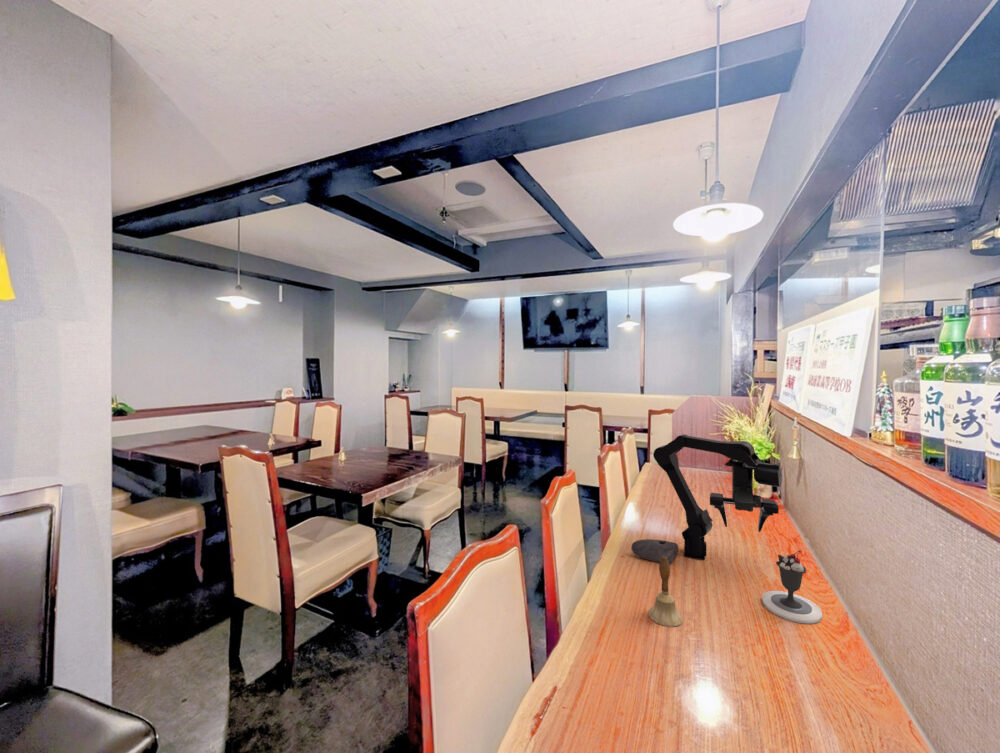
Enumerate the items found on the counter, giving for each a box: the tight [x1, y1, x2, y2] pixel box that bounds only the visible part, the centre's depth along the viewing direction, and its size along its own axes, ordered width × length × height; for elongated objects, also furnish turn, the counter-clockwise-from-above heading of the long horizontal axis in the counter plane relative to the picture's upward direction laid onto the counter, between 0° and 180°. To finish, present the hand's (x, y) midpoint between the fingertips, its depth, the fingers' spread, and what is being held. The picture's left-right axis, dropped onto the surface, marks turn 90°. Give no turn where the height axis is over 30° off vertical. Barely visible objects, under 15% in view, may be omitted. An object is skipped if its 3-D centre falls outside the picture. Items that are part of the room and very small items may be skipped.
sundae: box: [775, 550, 807, 609], centre depth 108 cm, size 7×7×15 cm
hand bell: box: [648, 556, 684, 627], centre depth 105 cm, size 8×8×16 cm
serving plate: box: [761, 590, 823, 625], centre depth 108 cm, size 13×13×1 cm
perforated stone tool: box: [631, 538, 679, 564], centre depth 136 cm, size 15×5×7 cm, turn 62°
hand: (742, 529), depth 130 cm, fingers open, 9 cm apart
